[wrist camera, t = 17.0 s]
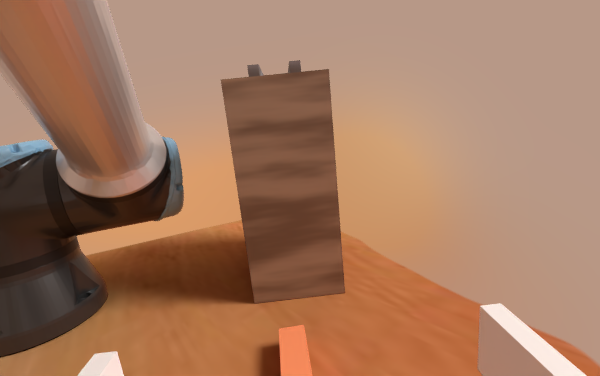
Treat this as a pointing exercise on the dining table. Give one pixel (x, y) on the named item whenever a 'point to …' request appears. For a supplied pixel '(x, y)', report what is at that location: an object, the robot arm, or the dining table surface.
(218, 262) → the dining table surface
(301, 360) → the lever bar
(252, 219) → the stand
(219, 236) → the dining table surface
